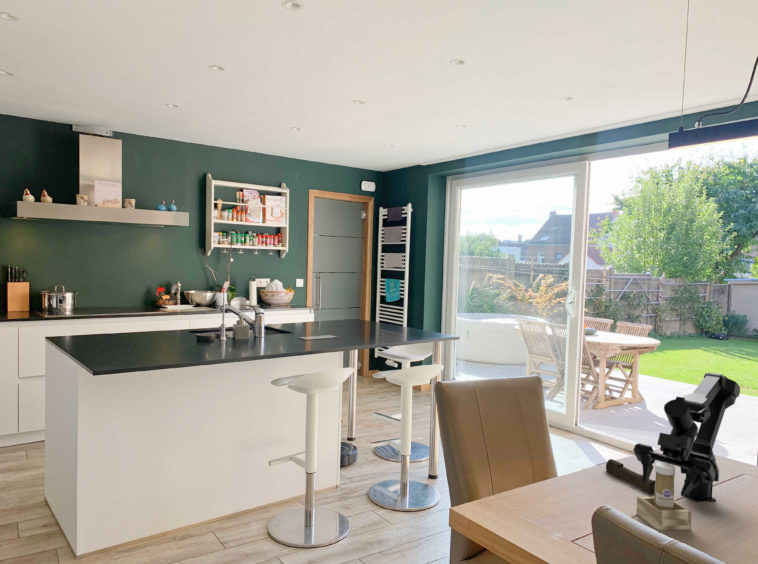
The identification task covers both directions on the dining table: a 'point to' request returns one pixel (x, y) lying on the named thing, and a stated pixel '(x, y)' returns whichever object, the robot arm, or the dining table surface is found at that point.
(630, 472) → the hand tool
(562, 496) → the dining table surface
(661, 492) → the sprinkles bottle
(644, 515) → the beech holder
